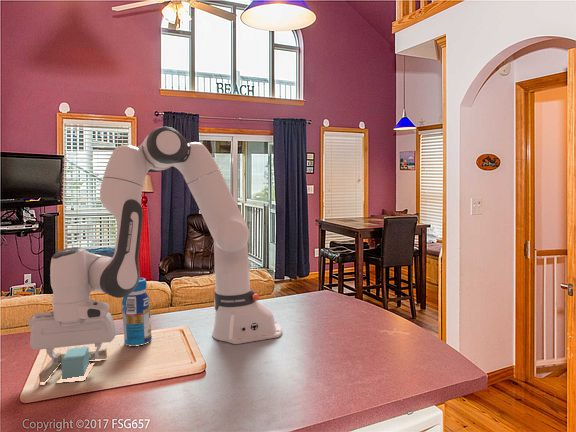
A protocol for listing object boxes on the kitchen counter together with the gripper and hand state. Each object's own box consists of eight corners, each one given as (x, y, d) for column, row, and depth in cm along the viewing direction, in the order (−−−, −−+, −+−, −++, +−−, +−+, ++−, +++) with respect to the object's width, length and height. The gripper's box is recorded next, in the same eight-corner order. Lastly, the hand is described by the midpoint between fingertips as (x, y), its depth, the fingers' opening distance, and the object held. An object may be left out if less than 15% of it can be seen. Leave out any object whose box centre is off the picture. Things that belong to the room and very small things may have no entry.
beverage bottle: (119, 343, 138) (115, 280, 136) (143, 335, 144) (140, 275, 142) (132, 350, 132) (128, 284, 130) (157, 341, 138) (154, 279, 136)
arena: (107, 358, 126) (106, 348, 126) (95, 380, 113) (94, 368, 112) (57, 363, 124) (57, 353, 123) (39, 385, 110) (39, 374, 110)
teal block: (83, 378, 113) (82, 359, 113) (62, 380, 112) (61, 361, 112) (89, 363, 122) (88, 346, 122) (69, 366, 121) (68, 348, 120)
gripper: (23, 317, 110) (28, 371, 111) (111, 309, 115) (114, 361, 116) (32, 310, 116) (36, 361, 117) (114, 303, 121) (117, 351, 122)
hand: (75, 360), depth 117 cm, fingers open, 8 cm apart
